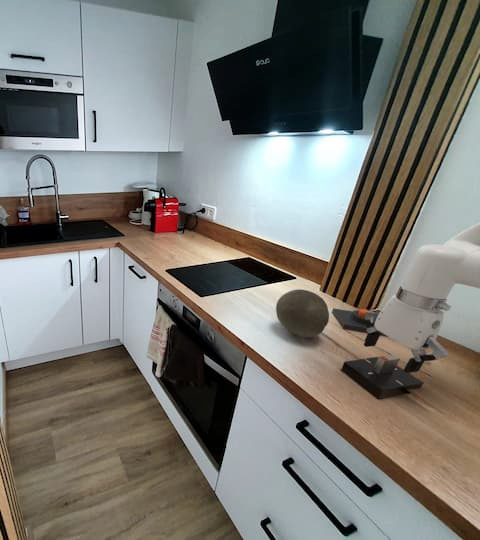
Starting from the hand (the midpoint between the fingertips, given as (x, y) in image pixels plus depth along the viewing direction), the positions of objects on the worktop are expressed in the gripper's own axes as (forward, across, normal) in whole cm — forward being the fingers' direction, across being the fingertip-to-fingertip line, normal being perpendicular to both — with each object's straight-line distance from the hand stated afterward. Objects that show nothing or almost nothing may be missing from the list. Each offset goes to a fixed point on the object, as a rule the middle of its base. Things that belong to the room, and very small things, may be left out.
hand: (388, 357), depth 72 cm
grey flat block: (+7, +21, -19) cm, 29 cm away
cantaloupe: (+8, +22, +6) cm, 24 cm away
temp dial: (+4, 0, 0) cm, 4 cm away
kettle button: (+3, +21, -19) cm, 29 cm away
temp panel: (+7, 0, 0) cm, 7 cm away
